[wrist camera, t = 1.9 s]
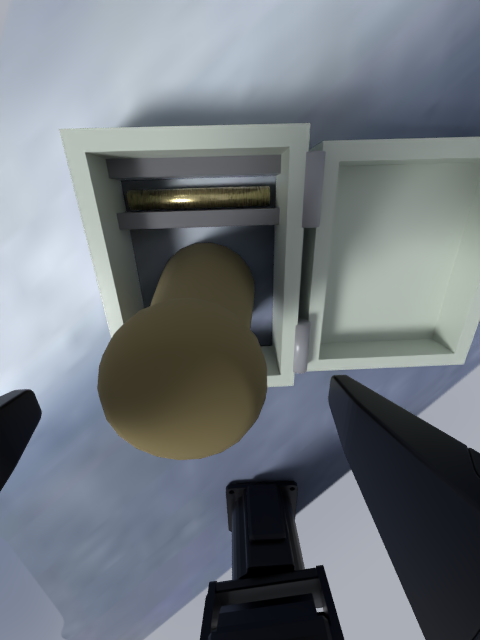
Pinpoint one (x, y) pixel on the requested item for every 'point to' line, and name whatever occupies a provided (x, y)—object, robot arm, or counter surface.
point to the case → (200, 162)
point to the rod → (198, 198)
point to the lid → (394, 254)
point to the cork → (188, 360)
